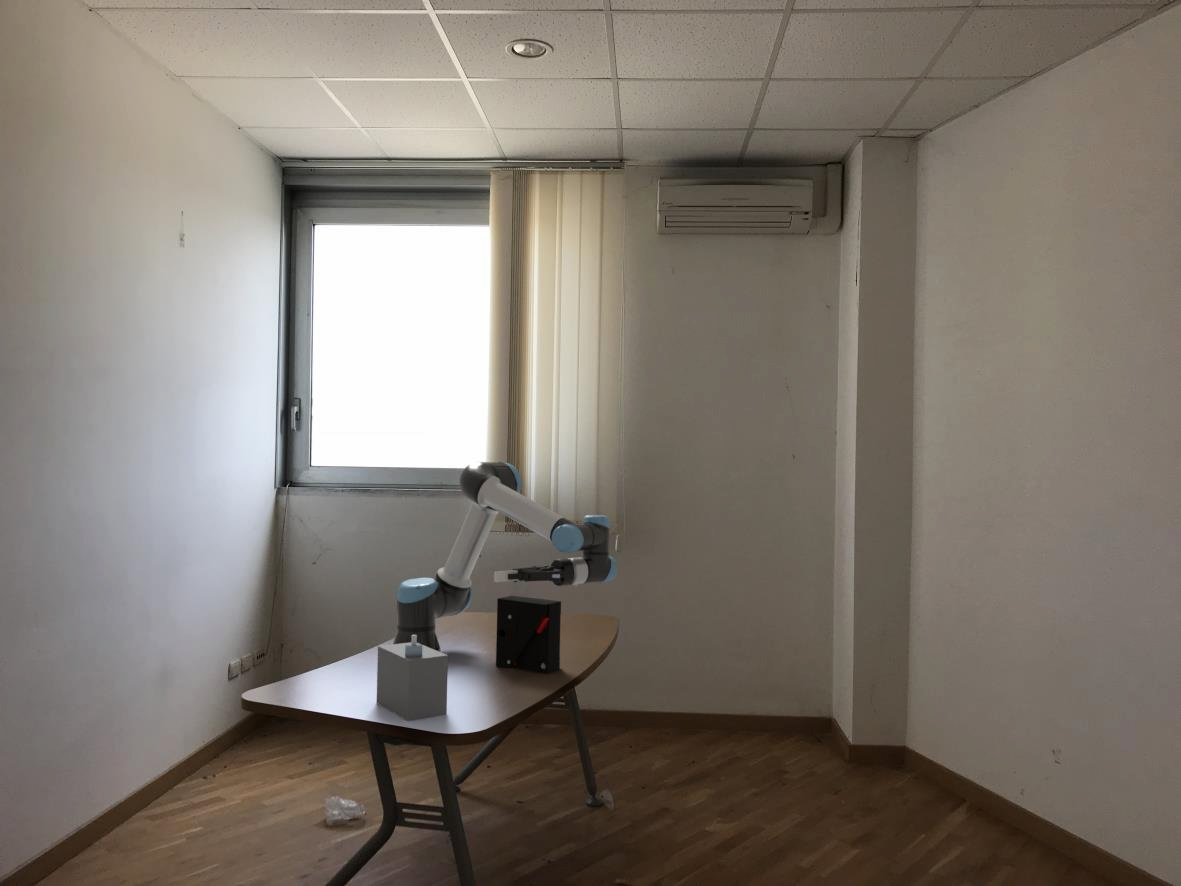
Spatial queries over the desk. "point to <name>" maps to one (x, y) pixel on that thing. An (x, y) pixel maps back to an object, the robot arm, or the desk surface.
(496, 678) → the desk surface
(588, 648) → the desk surface
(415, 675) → the housing
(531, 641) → the electrical component
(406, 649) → the knob
